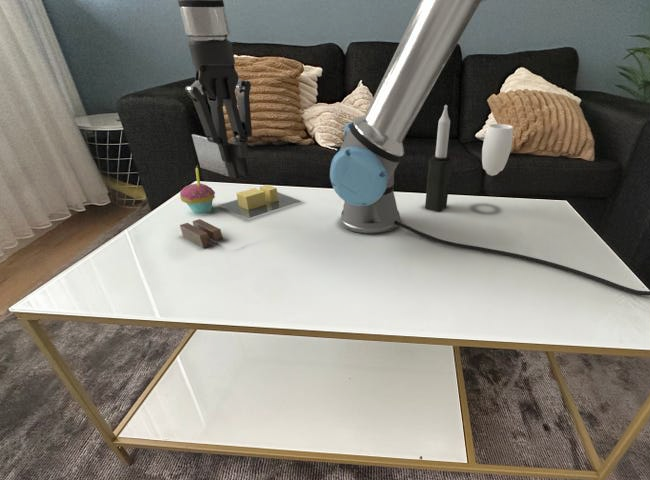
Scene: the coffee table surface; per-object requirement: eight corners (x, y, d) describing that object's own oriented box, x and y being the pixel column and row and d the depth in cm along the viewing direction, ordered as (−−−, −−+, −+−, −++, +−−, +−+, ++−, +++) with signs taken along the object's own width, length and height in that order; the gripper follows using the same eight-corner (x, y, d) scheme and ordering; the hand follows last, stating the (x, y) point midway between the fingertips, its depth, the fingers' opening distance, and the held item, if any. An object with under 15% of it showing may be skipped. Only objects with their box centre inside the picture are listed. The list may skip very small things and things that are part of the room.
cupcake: (223, 207, 112) (212, 160, 105) (210, 218, 106) (197, 170, 98) (194, 205, 113) (180, 159, 105) (179, 217, 106) (164, 168, 99)
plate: (301, 203, 116) (301, 201, 116) (248, 220, 105) (247, 218, 105) (271, 191, 123) (271, 189, 122) (218, 207, 112) (218, 205, 112)
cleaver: (254, 182, 88) (246, 143, 83) (247, 184, 87) (239, 145, 82) (204, 166, 97) (195, 131, 92) (198, 168, 96) (188, 132, 91)
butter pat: (278, 200, 115) (276, 188, 113) (271, 203, 114) (269, 190, 112) (268, 197, 118) (266, 184, 115) (261, 199, 116) (259, 186, 114)
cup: (467, 207, 116) (479, 124, 102) (486, 202, 119) (500, 122, 105) (485, 215, 111) (500, 130, 98) (504, 210, 114) (521, 127, 101)
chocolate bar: (223, 241, 96) (220, 229, 94) (203, 248, 93) (199, 235, 91) (203, 230, 100) (199, 218, 98) (183, 237, 97) (179, 225, 95)
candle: (432, 203, 118) (441, 102, 102) (447, 206, 116) (460, 104, 100) (423, 208, 115) (431, 105, 98) (439, 212, 113) (450, 107, 96)
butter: (266, 204, 113) (264, 191, 111) (248, 210, 109) (245, 197, 107) (257, 200, 115) (254, 187, 113) (238, 206, 112) (236, 193, 109)
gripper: (231, 37, 80) (256, 165, 95) (159, 39, 71) (198, 180, 86) (255, 38, 76) (276, 171, 91) (182, 40, 67) (219, 187, 82)
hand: (238, 175), depth 89 cm, fingers closed on cleaver, 2 cm apart
